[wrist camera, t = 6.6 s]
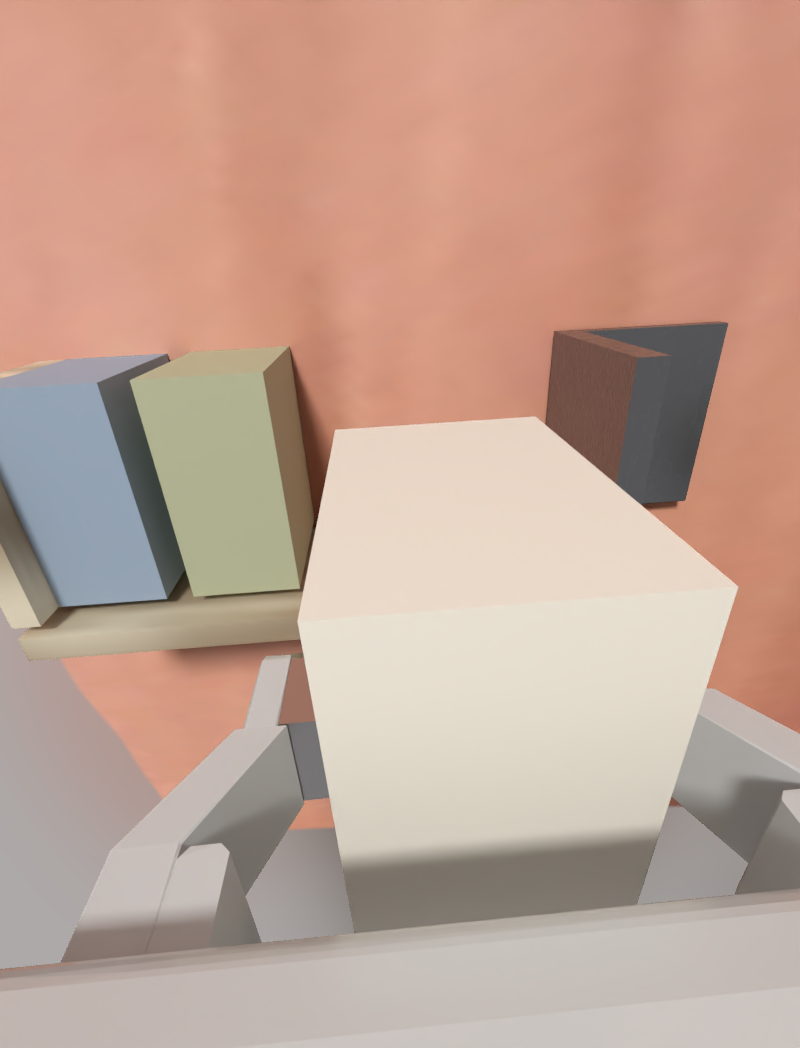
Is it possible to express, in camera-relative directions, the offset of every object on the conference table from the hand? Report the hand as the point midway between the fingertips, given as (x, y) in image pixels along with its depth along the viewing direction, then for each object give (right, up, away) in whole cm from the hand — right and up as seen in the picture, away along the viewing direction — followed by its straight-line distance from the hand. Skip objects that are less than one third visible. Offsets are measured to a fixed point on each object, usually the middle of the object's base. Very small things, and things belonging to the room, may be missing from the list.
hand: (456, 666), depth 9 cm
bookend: (+9, +7, +13) cm, 18 cm away
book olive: (-7, +6, +13) cm, 16 cm away
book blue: (-12, +6, +13) cm, 19 cm away
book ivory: (0, +1, +2) cm, 3 cm away
